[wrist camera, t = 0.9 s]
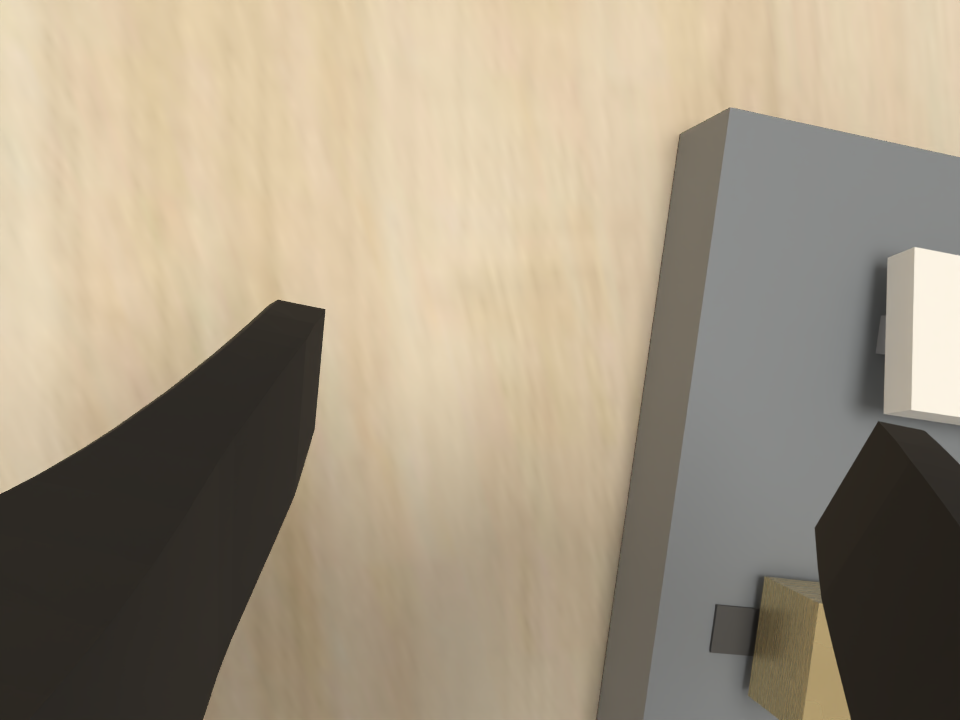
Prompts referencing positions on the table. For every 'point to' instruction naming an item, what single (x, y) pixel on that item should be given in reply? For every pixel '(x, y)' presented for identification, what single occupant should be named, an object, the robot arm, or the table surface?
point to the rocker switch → (923, 336)
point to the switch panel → (757, 390)
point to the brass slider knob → (795, 655)
